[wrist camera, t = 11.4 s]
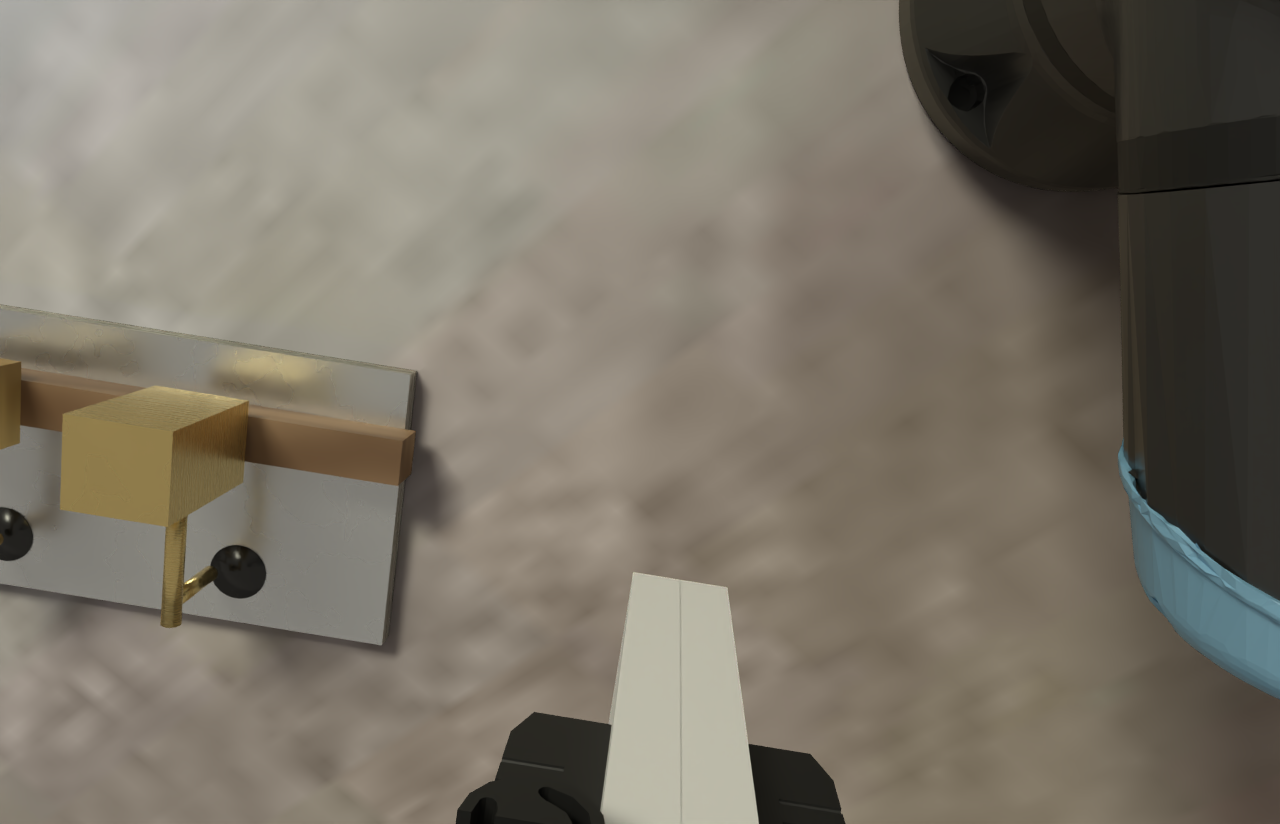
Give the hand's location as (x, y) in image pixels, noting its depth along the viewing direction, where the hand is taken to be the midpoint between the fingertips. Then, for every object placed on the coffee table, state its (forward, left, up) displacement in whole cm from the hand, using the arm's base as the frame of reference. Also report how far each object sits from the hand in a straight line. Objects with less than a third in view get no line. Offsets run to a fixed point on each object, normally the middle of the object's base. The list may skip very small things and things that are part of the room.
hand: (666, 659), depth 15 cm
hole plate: (+8, -22, -27) cm, 36 cm away
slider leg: (+8, -20, -26) cm, 33 cm away
